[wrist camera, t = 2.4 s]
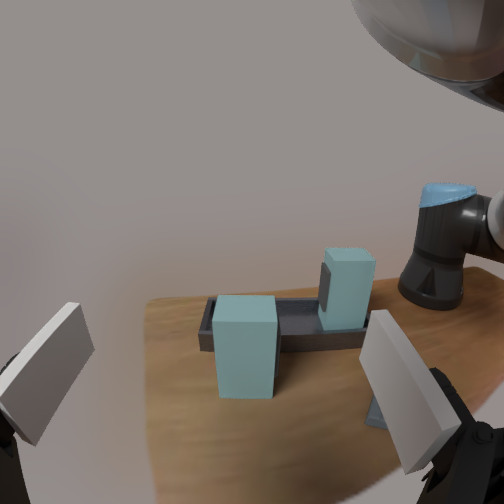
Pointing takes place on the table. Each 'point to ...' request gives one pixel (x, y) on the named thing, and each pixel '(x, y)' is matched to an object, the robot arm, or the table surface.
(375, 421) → the bracket
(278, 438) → the table surface
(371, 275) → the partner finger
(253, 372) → the finger
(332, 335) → the dark gray tray
